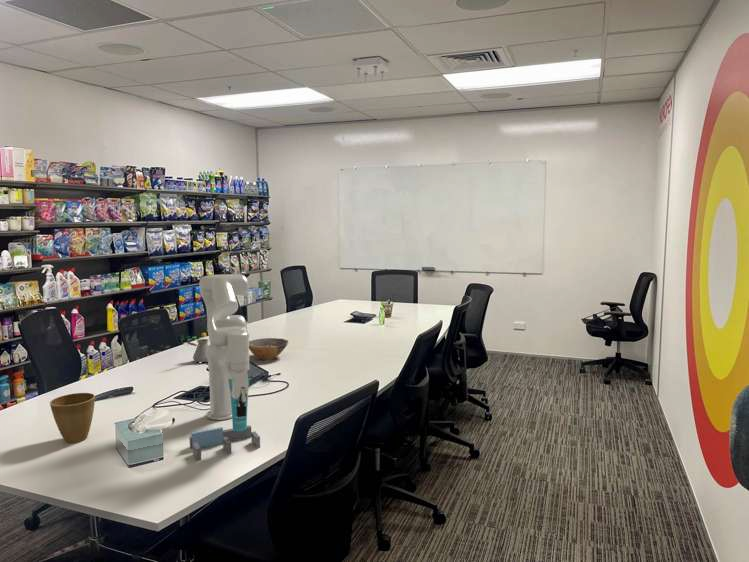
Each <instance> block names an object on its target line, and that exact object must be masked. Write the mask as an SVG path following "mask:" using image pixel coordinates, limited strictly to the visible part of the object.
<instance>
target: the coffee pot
mask: <svg viewBox="0 0 749 562" xmlns="http://www.w3.org/2000/svg"><path fill="white" fill-rule="evenodd" d="M196 341H197V344H196V343H193V342H189V341H186V342H185V344H184V345H185V346H189V345H191V346H194V347H196V349H195V352H194V353H193V355H192V356H193V357H192V359H193V360H194V361H195V362H196V363H197V362H208V361H207V356H206V349H207V347H208V346H209V344H208V343H209V338H208V339H207V338H200V339H197V340H196ZM186 344H187V345H186Z"/></svg>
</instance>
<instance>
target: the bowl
mask: <svg viewBox="0 0 749 562" xmlns="http://www.w3.org/2000/svg"><path fill="white" fill-rule="evenodd" d="M288 344H289V340H287V339H284V338H277V337H266V338H265V337H263V338H256V339H252V340H249V352H251V353H252V354H253V356H254V357H255V358H257V359H259V360H263V361H265V360H266V361H269V360H275V358H278V356H279V355H281V353H282V352H283V351H284V350H285V349H286V347H287V346H288Z"/></svg>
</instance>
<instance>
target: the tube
mask: <svg viewBox="0 0 749 562" xmlns="http://www.w3.org/2000/svg"><path fill="white" fill-rule="evenodd" d="M228 382H229V387H230V395H231V406H232V418H231V420H232V422H231V423H232V428H233V430H234V431H243V430H245V429H246V428H247V426H248V407H249V406H248V403H249V396H248V397H247V398H246V416H243V417H237V406H238V403H237V399H234V398H233V397H232V386H231V379H228ZM249 387H250V377H249V376H248V391H249ZM245 394H246V393H245ZM240 397H241V396H239V398H240ZM241 400H242V399H240V401H241Z"/></svg>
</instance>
